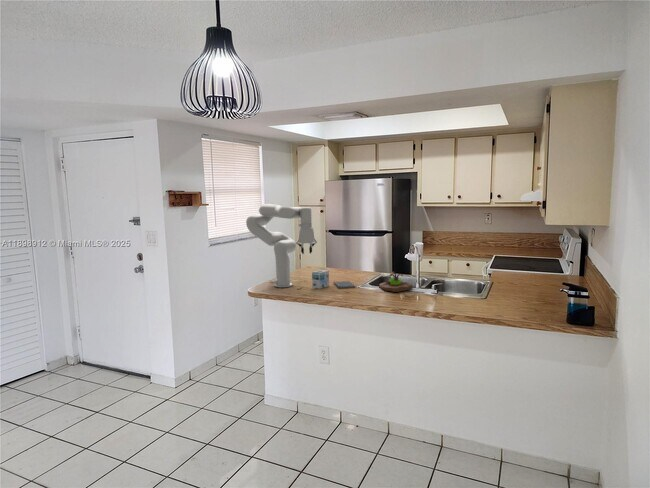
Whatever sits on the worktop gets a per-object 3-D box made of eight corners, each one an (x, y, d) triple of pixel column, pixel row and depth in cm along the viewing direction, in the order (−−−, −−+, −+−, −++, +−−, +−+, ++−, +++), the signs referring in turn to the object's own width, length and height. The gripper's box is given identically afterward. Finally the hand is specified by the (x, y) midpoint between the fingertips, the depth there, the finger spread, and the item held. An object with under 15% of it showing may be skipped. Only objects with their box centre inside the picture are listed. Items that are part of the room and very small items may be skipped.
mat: (338, 288, 266) (338, 286, 265) (333, 283, 281) (333, 281, 281) (355, 287, 268) (355, 285, 268) (349, 282, 283) (349, 280, 283)
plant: (373, 287, 268) (373, 271, 267) (394, 283, 280) (394, 267, 278) (396, 293, 252) (395, 275, 251) (416, 288, 264) (416, 271, 262)
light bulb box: (319, 289, 266) (319, 272, 265) (311, 287, 270) (311, 271, 269) (329, 286, 275) (329, 270, 274) (321, 284, 279) (321, 269, 278)
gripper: (293, 226, 261) (294, 254, 263) (319, 225, 264) (320, 253, 266) (292, 226, 268) (293, 253, 270) (317, 225, 272) (318, 252, 274)
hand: (306, 253), depth 268 cm, fingers open, 4 cm apart
